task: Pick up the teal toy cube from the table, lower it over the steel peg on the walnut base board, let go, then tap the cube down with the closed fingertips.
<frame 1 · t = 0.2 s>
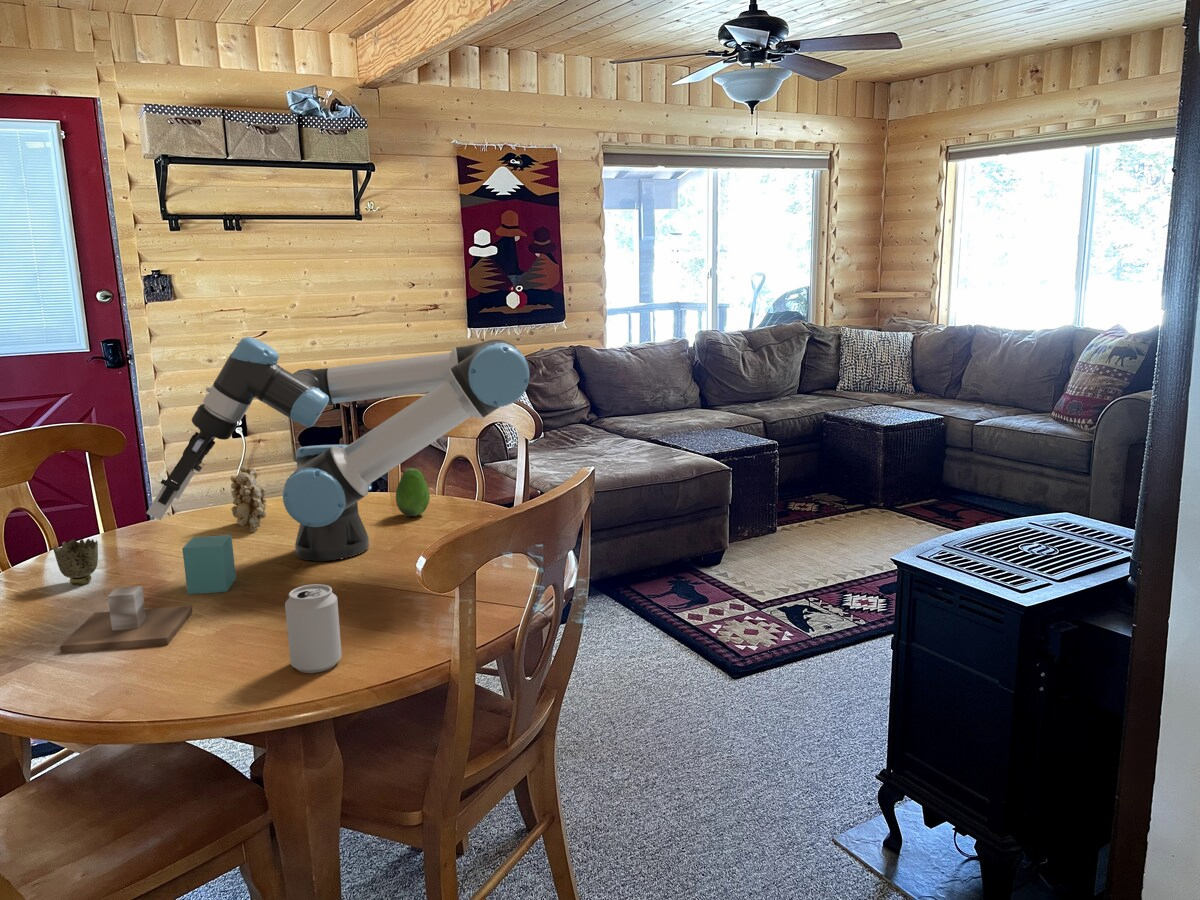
hand: (163, 505, 168), 15 cm above the table, tool tilted 35°, fingers open, 13 cm apart
teal toy cube: (212, 586, 168), on the table
can: (316, 665, 134), on the table
peg base: (130, 631, 147), on the table
cup: (81, 584, 170), on the table
mineral formation: (253, 528, 206), on the table
fruit: (413, 516, 214), on the table
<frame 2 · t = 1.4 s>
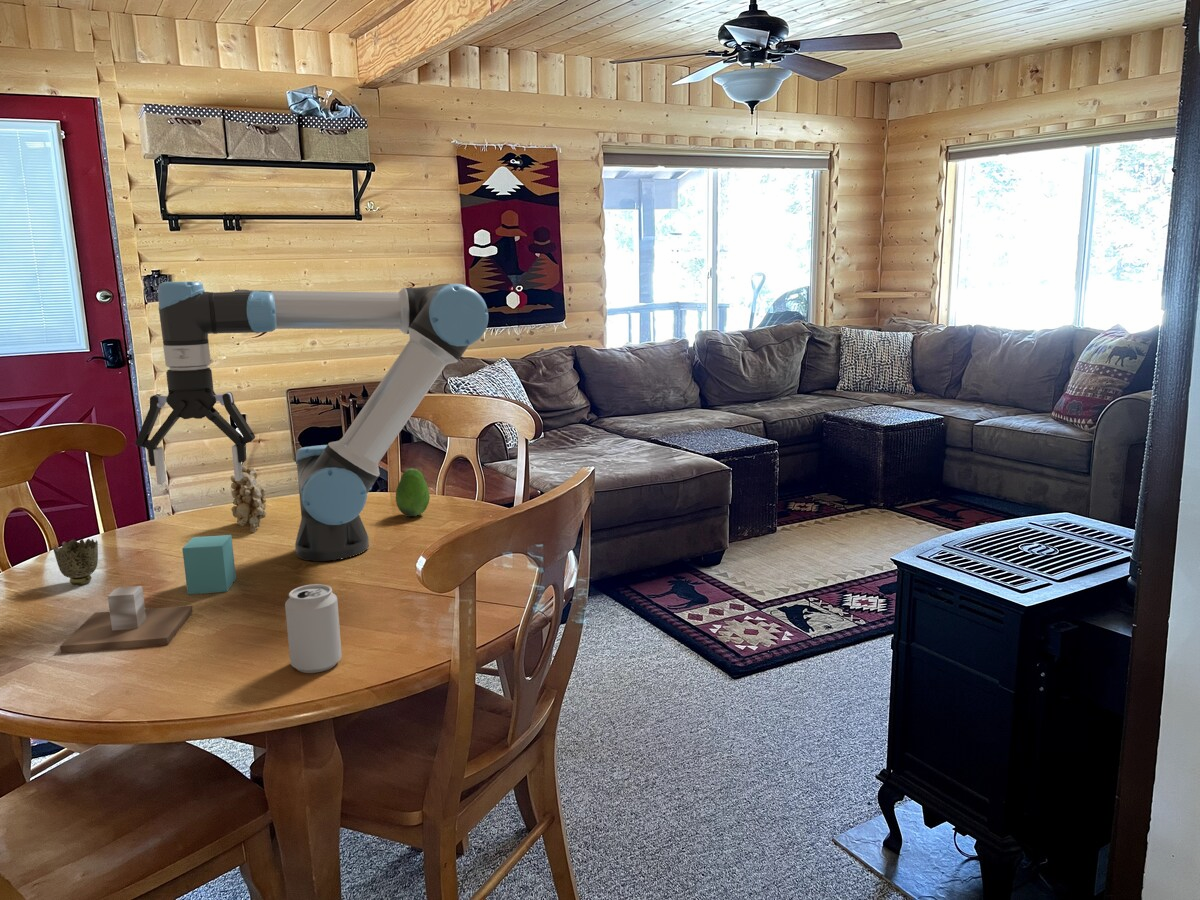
hand: (200, 481, 163), 21 cm above the table, tool pointing down, fingers open, 13 cm apart
nothing on the table moved.
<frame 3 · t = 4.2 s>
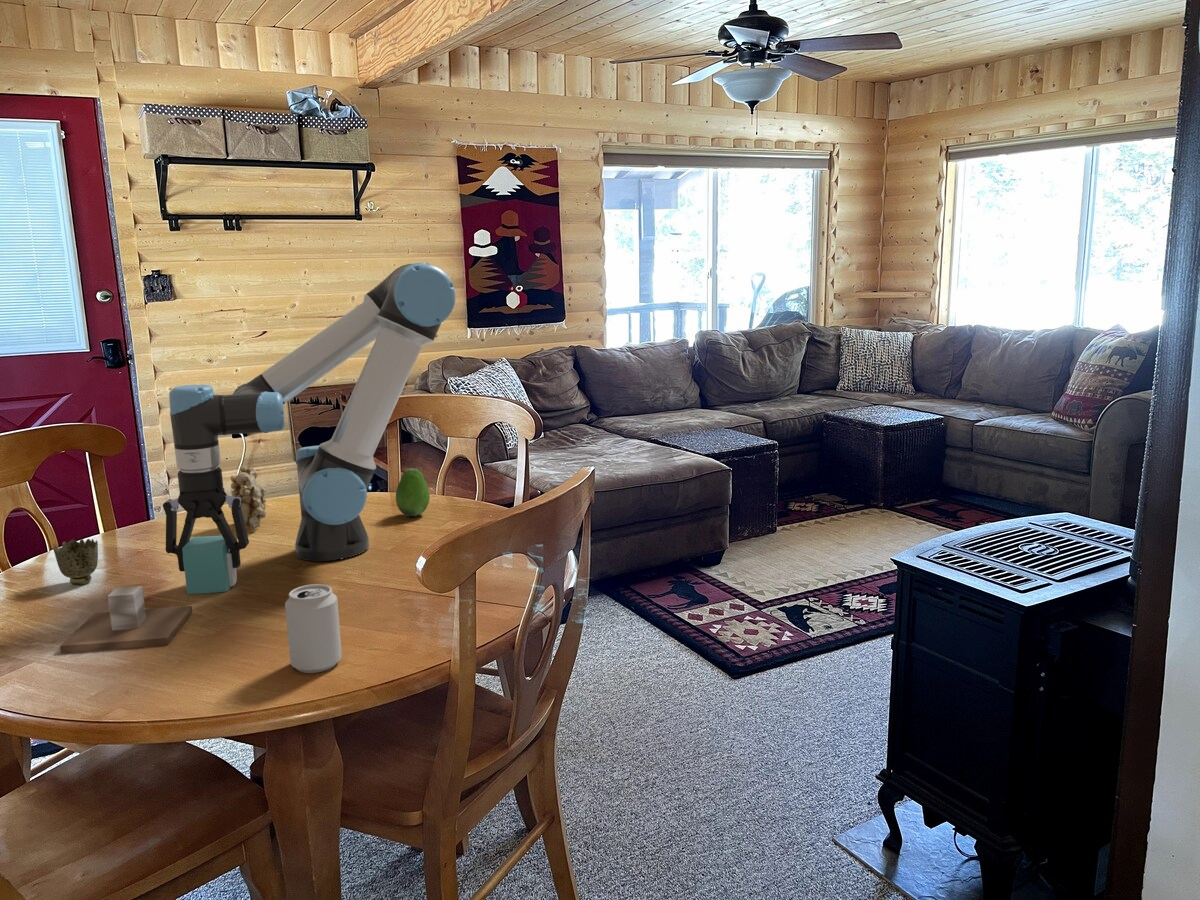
hand: (212, 585, 168), 0 cm above the table, tool pointing down, fingers closed on teal toy cube, 7 cm apart
teal toy cube: (212, 586, 168), on the table, touching gripper
everything else where it was.
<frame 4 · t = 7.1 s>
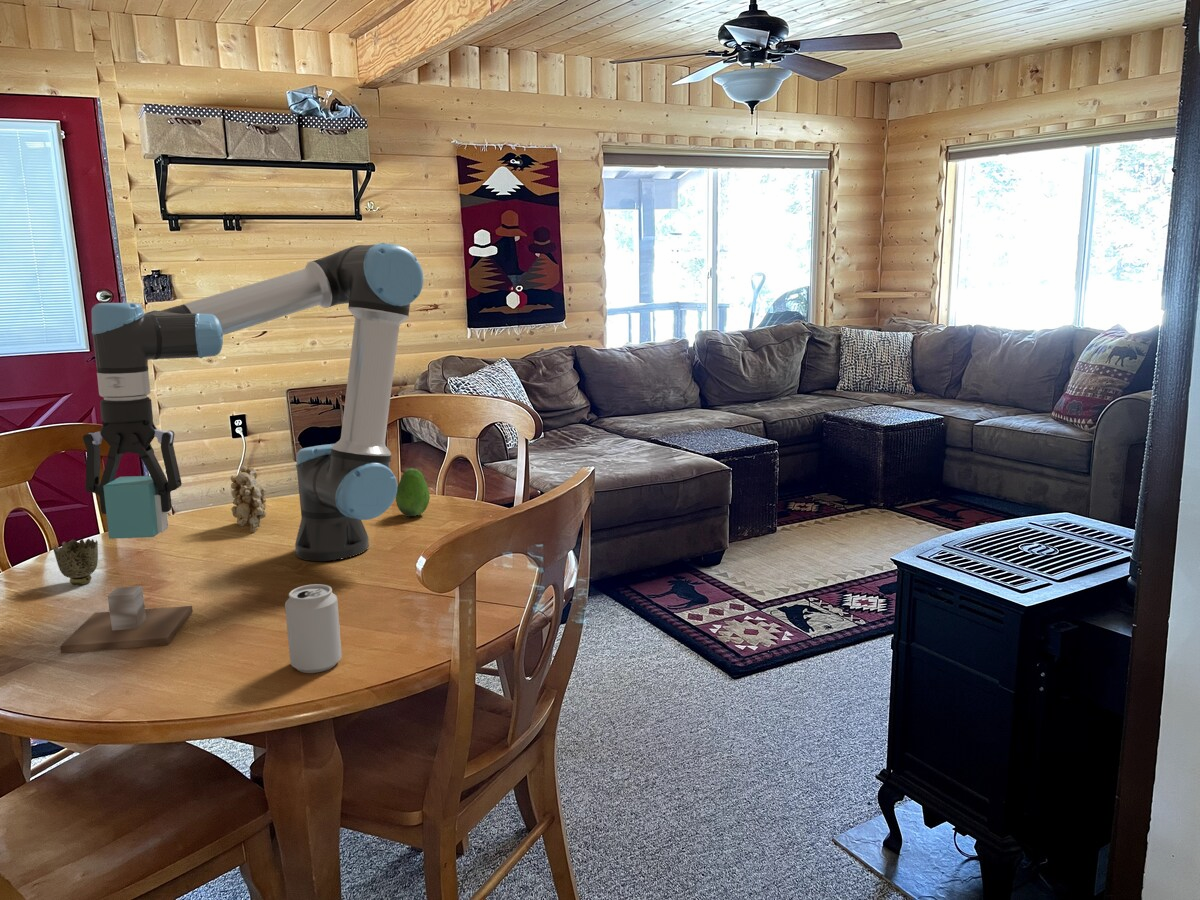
hand: (138, 530, 149), 16 cm above the table, tool pointing down, fingers closed on teal toy cube, 7 cm apart
teal toy cube: (139, 532, 149), point 16 cm above the table, touching gripper
everything else where it was.
when the fingers open (4 cm above the table, at t = 10.3 s): teal toy cube drops 3 cm, resting on peg base.
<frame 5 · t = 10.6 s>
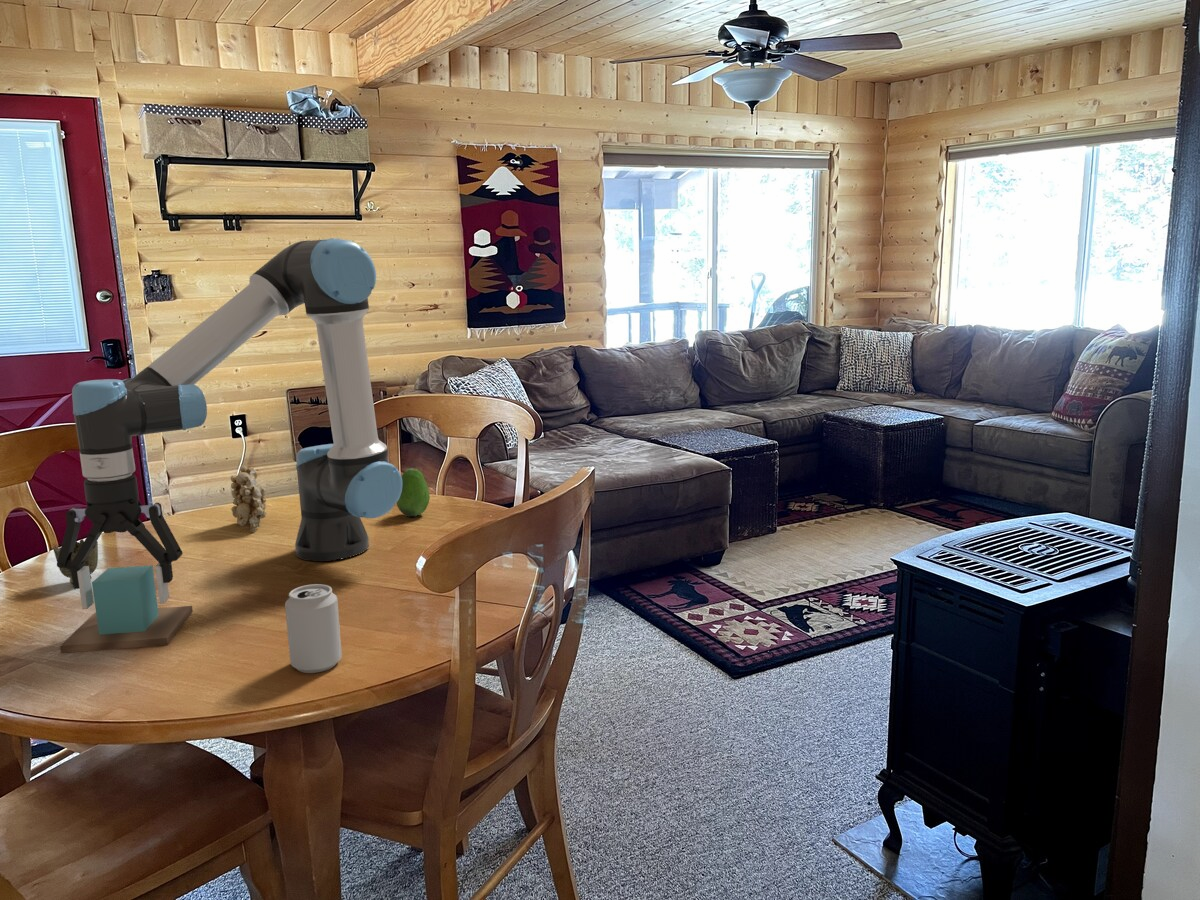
hand: (126, 603, 146), 5 cm above the table, tool pointing down, fingers open, 11 cm apart
teal toy cube: (129, 624, 147), point 1 cm above the table, touching peg base
everything else where it was.
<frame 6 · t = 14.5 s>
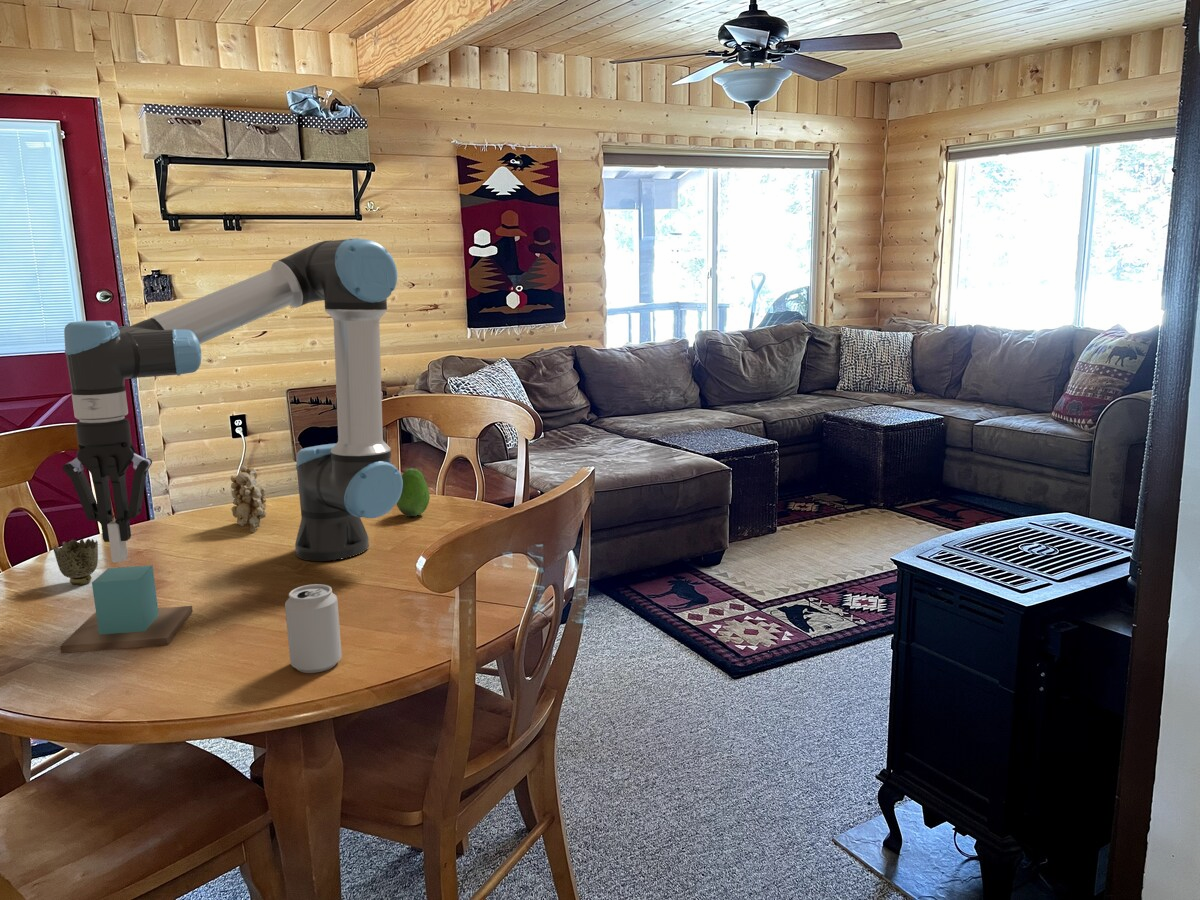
hand: (120, 559, 144), 13 cm above the table, tool pointing down, fingers closed
nothing on the table moved.
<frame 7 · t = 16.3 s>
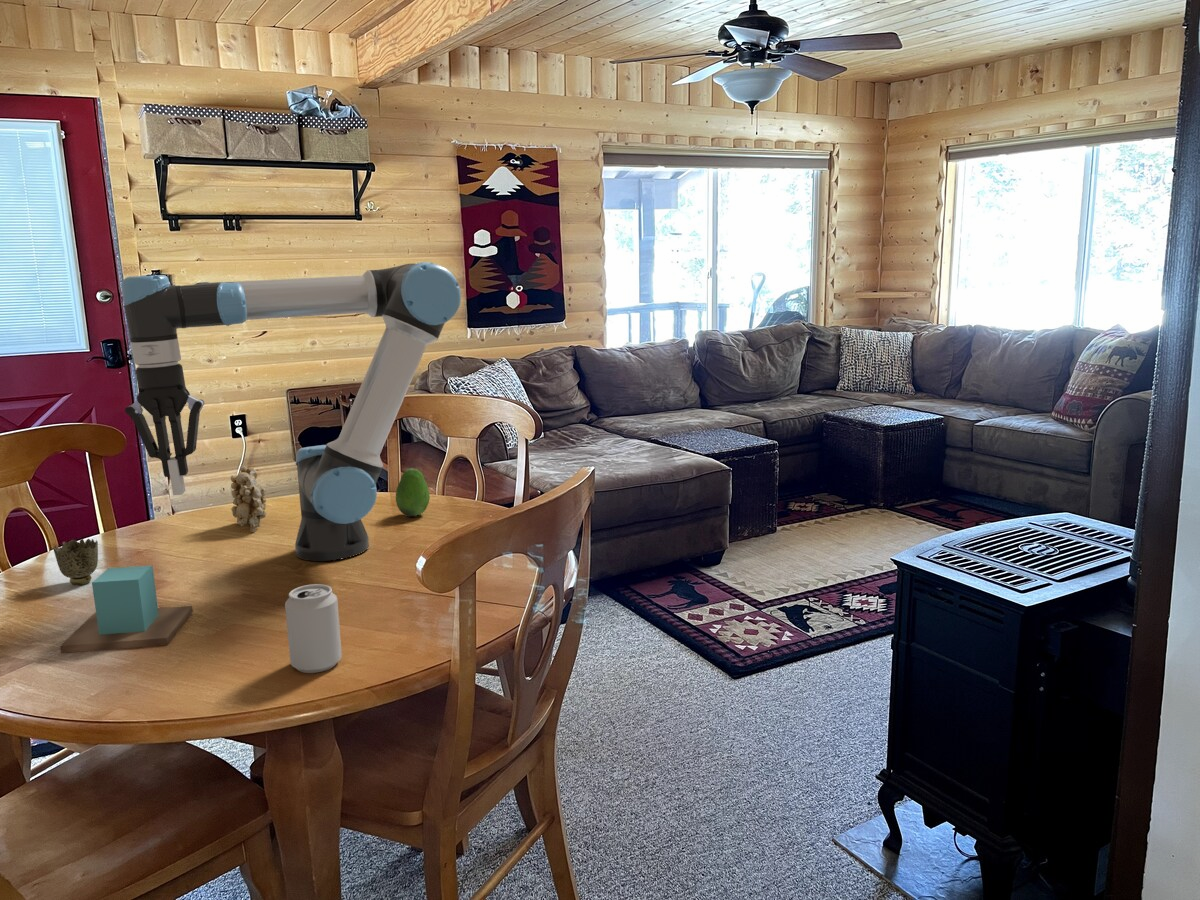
hand: (179, 493, 160), 20 cm above the table, tool pointing down, fingers closed
nothing on the table moved.
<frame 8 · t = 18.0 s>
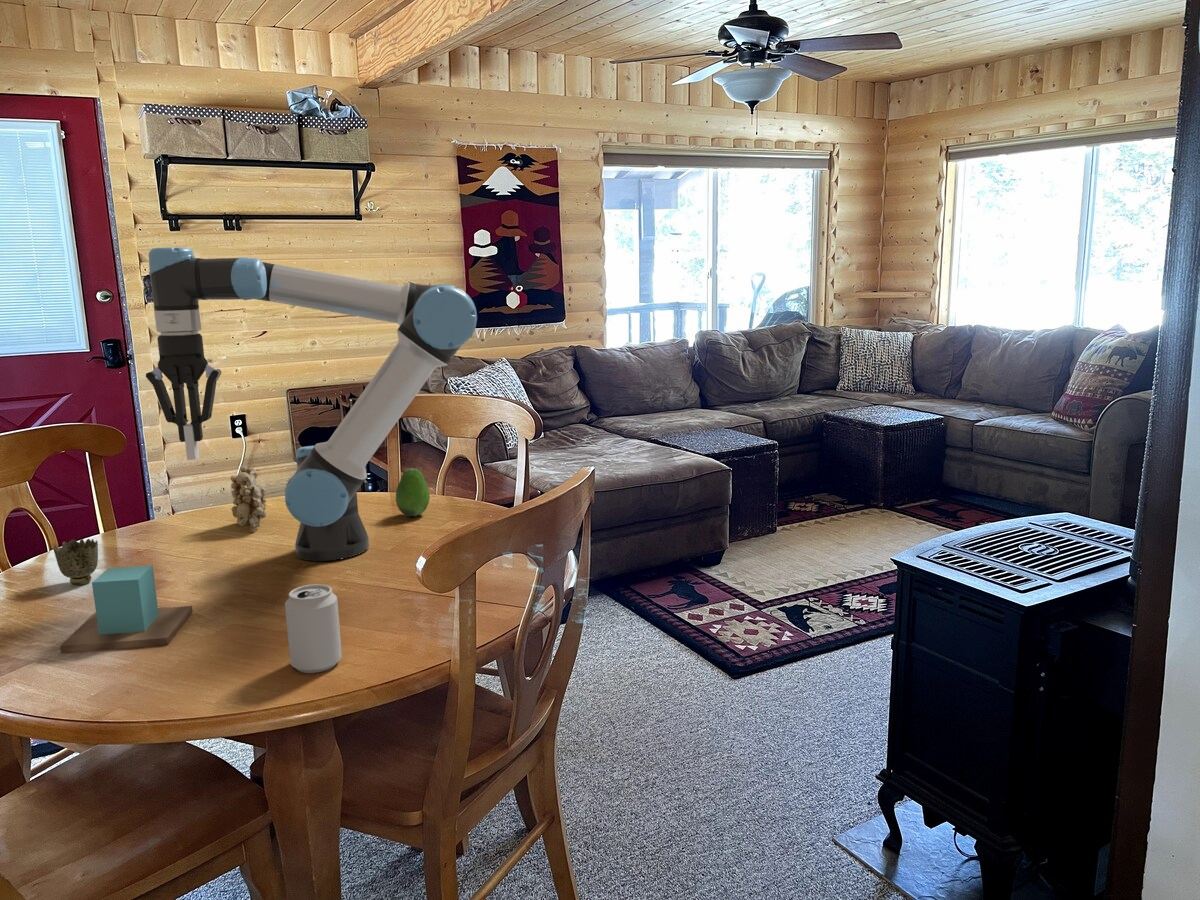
hand: (193, 458, 166), 24 cm above the table, tool pointing down, fingers closed
nothing on the table moved.
at the end: teal toy cube 0.1 cm from the peg base (horizontally); teal toy cube point 1.2 cm above the table; teal toy cube tilted 0° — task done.
